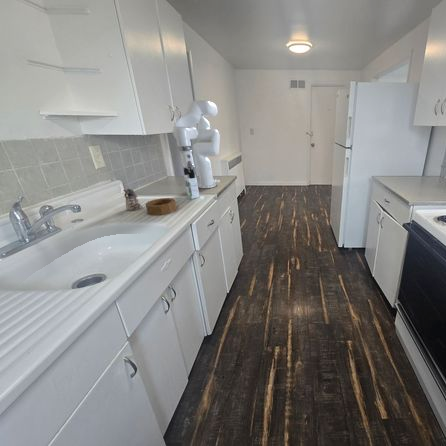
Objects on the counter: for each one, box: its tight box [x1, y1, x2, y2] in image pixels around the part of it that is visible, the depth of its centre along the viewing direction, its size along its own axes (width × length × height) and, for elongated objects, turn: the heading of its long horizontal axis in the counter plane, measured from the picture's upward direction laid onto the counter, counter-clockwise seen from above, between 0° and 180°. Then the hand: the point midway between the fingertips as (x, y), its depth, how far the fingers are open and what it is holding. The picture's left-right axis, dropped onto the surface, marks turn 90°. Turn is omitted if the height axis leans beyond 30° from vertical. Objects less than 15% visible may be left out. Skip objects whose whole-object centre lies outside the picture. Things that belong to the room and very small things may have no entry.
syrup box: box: [183, 174, 200, 200], centre depth 163 cm, size 6×6×14 cm
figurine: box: [123, 188, 142, 212], centre depth 144 cm, size 7×7×12 cm
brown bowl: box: [144, 197, 178, 216], centre depth 142 cm, size 15×15×5 cm
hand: (189, 177), depth 160 cm, fingers open, 9 cm apart
